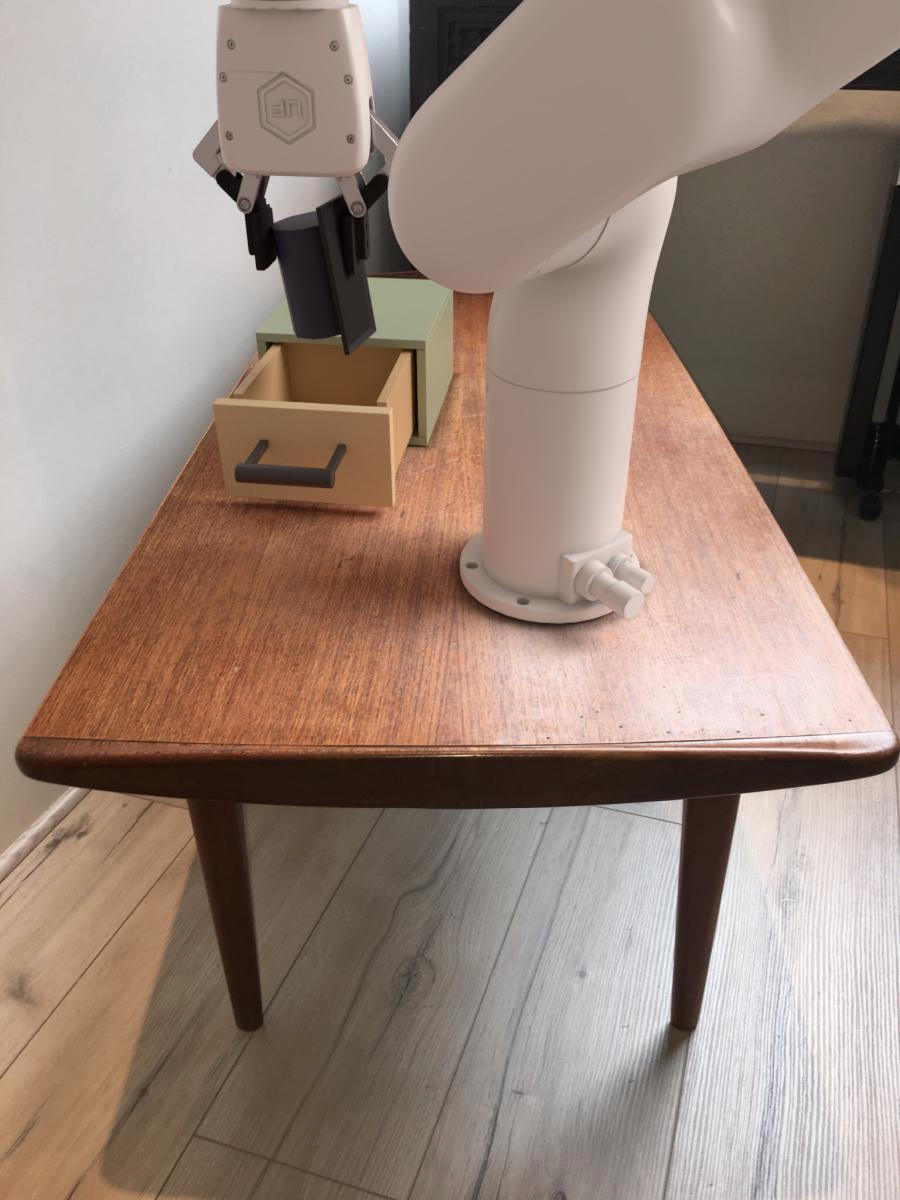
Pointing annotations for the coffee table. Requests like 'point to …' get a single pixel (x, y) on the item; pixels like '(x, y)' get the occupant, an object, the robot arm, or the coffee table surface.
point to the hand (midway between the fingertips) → (310, 265)
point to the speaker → (322, 277)
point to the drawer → (319, 424)
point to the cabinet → (396, 338)
